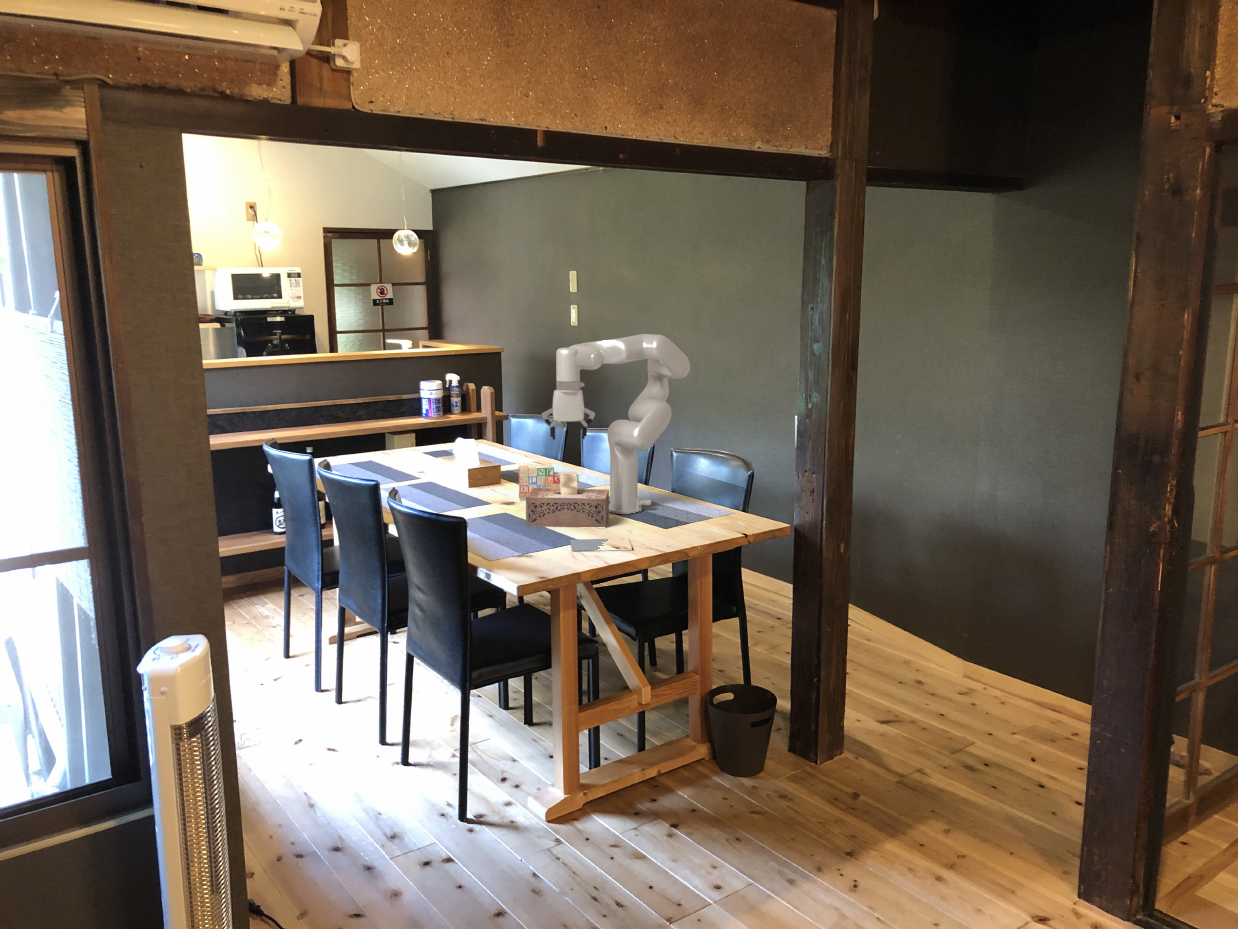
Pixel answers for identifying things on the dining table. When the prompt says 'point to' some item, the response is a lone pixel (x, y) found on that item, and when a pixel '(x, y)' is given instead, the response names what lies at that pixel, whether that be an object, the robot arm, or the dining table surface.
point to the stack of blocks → (539, 478)
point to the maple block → (568, 484)
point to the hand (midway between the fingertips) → (568, 438)
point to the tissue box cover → (567, 508)
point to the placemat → (586, 544)
